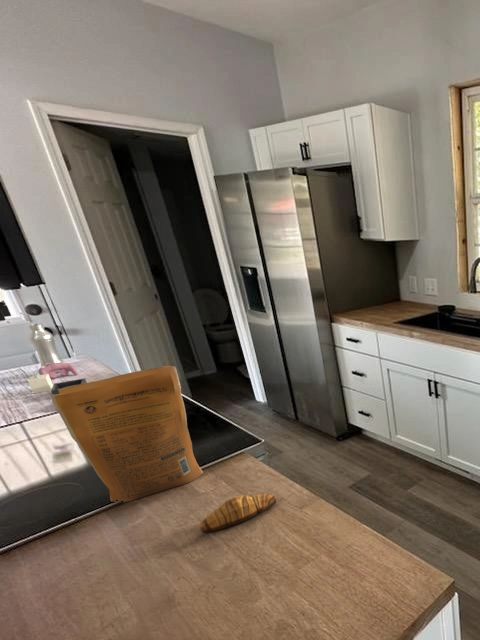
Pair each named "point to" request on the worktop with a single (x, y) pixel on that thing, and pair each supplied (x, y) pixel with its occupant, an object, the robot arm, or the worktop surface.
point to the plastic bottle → (44, 345)
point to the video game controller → (61, 366)
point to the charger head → (40, 383)
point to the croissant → (237, 511)
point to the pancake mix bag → (132, 431)
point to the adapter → (66, 385)
